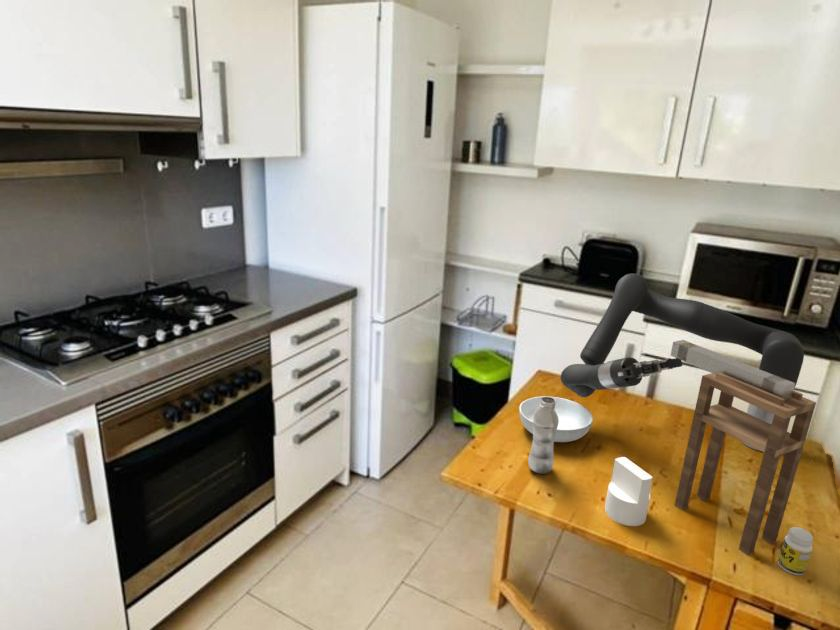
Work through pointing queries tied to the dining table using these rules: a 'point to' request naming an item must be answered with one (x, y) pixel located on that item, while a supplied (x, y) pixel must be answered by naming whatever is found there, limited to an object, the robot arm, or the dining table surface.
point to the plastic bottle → (543, 436)
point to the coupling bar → (732, 368)
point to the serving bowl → (560, 418)
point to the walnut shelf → (755, 434)
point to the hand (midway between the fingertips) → (668, 364)
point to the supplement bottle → (796, 551)
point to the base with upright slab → (628, 493)
